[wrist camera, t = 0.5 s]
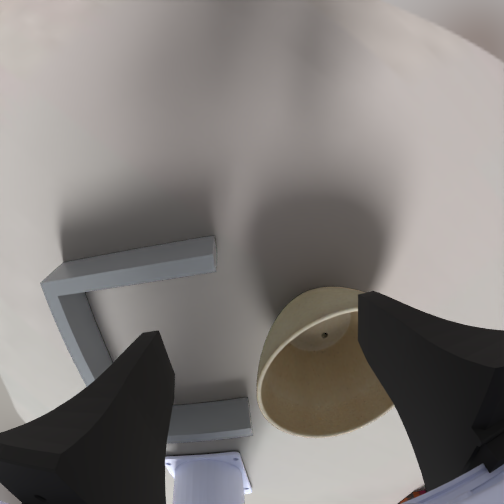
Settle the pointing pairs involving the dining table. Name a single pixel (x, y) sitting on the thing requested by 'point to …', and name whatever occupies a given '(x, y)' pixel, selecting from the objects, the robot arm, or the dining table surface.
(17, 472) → the robot arm
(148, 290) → the dining table surface
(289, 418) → the flower pot
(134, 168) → the dining table surface
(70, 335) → the bracket
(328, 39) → the dining table surface
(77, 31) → the dining table surface
